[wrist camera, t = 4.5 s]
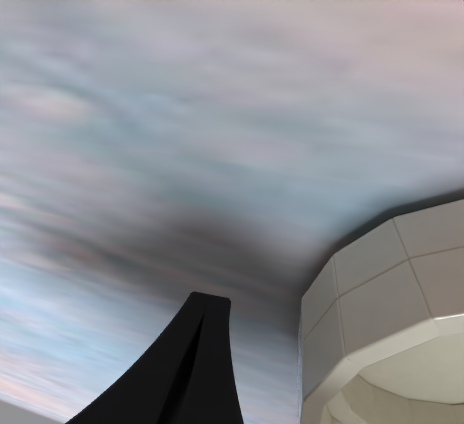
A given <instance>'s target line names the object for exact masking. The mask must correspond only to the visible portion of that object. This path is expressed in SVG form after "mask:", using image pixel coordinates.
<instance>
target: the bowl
mask: <svg viewBox="0 0 464 424" xmlns="http://www.w3.org/2000/svg"><path fill="white" fill-rule="evenodd" d="M298 424H464V199H462V200H458V201H454V202H450V203H447V204H443V205H439V206H435V207H431V208H427V209H423V210H419V211H415V212H411V213H408V214H404V215H400V216H396V217H393V219H389V220H387V221H386V222H384V223H383V224H381V225H379V226H378V227H376V228H375V229H373V230H371V231H370V232H368V233H367V234H365V235H363V236H362V237H360V238H359V239H357V240H355V241H354V242H352V243H351V244H349V245H347V246H346V247H344V248H343V249H341V250H339V251H338V252H336V253H335V254H334V255H333V256H332V257H331V258H330V259H329V261H328V262H327V264H326V265H325V266H324V268H323V269H322V271H321V272H320V273H319V275H318V276H317V278H316V279H315V280H314V282H313V283H312V285H311V286H310V287H309V289H308V290H307V292H306V293H305V294H304V296H303V297H302V302H301V313H300V324H299V335H298Z"/></svg>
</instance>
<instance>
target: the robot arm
mask: <svg viewBox="0 0 464 424" xmlns="http://www.w3.org/2000/svg"><path fill="white" fill-rule="evenodd" d="M230 308H231V300H230V299H229V298H225V297H220V296H215V295H210V294H205V293H200V292H195V291H194V292H192V293H190V295H189V297H188V298H187V300H186V301H185V303H184V304H183V306H182V307H181V309H180V310H179V311H178V313H177V314H176V315H175V317H174V318H173V319H172V321H171V322H170V323H169V325H168V326H167V327H166V328H165V329H164V331H163V332H162V333H161V334H160V336H159V337H158V338H157V339H156V340H155V341H154V343H153V344H152V345H151V346H150V347H149V348H148V349H147V350H146V351H145V352H144V354H143V355H142V356H141V357H140V358H139V359H138V360H137V361H136V362H135V363H134V364H133V365H132V366H131V367H130V368H129V369H128V370H127V371H126V372H125V373H124V374H123V375H122V376H121V377H120V378H119V379H118V380H117V381H116V382H115V383H113V384H112V385H111V386H110V387H109V388H108V389H107V390H106V391H104V392H103V393H102V394H101V395H100V396H99V397H98V398H96V399H95V400H94V401H93V402H92V403H91V404H89V405H88V406H87V407H86V408H85V409H83V410H82V411H81V412H80V413H78V414H77V415H76V416H74V417H73V418H72V419H70V420H69V421H68V422H66V423H65V424H244V422H243V418H242V414H241V410H240V405H239V401H238V396H237V390H236V385H235V379H234V373H233V366H232V358H231V348H230V336H229V315H230Z"/></svg>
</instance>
